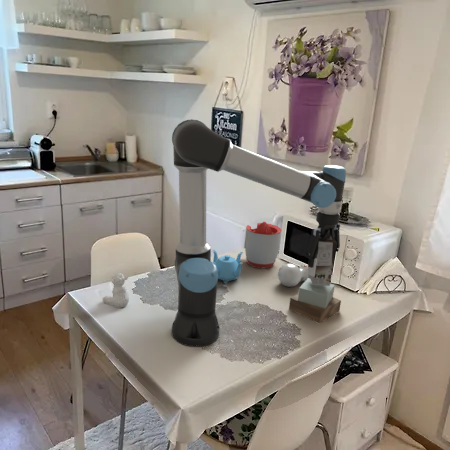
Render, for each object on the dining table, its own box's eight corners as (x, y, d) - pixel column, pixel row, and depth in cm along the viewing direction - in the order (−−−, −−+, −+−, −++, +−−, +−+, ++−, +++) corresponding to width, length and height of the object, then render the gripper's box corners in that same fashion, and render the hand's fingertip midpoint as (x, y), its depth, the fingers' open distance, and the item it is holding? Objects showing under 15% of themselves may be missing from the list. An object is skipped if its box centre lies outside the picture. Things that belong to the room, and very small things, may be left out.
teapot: (241, 273, 182) (243, 251, 179) (241, 287, 169) (243, 263, 166) (211, 271, 182) (212, 249, 179) (209, 284, 170) (210, 261, 167)
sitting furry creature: (127, 295, 157) (126, 265, 153) (137, 305, 150) (137, 274, 146) (101, 301, 151) (101, 270, 147) (111, 312, 145) (110, 280, 141)
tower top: (325, 308, 147) (327, 295, 146) (297, 300, 152) (299, 287, 150) (332, 297, 156) (334, 284, 154) (306, 290, 160) (308, 277, 159)
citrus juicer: (258, 253, 205) (262, 213, 199) (284, 266, 192) (289, 224, 186) (233, 259, 196) (236, 218, 190) (259, 273, 183) (263, 229, 177)
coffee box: (330, 286, 148) (337, 242, 143) (312, 284, 148) (318, 241, 143) (325, 275, 157) (331, 233, 152) (307, 274, 157) (313, 232, 152)
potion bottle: (275, 290, 172) (301, 286, 181) (292, 284, 164) (318, 281, 173) (270, 267, 174) (295, 265, 183) (286, 261, 167) (312, 259, 176)
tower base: (319, 324, 146) (321, 311, 145) (288, 310, 155) (290, 297, 154) (339, 312, 155) (341, 300, 154) (309, 299, 164) (310, 287, 162)
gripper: (318, 219, 135) (309, 283, 141) (356, 209, 150) (346, 267, 157) (299, 213, 140) (291, 275, 147) (337, 204, 155) (329, 260, 162)
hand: (320, 271), depth 152 cm, fingers closed on coffee box, 10 cm apart
